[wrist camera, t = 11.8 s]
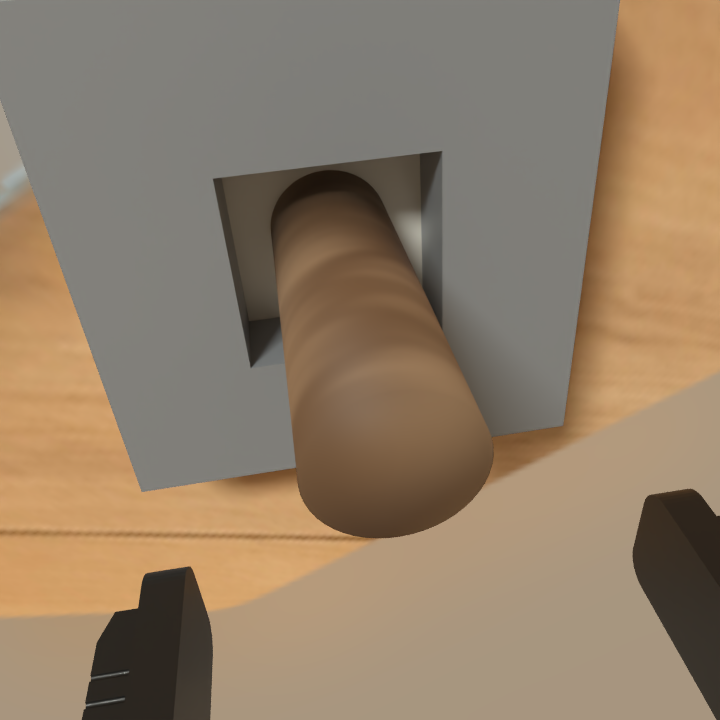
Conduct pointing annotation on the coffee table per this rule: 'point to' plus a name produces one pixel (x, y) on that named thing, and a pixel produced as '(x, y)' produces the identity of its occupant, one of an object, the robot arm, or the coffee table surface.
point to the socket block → (291, 162)
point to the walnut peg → (368, 369)
